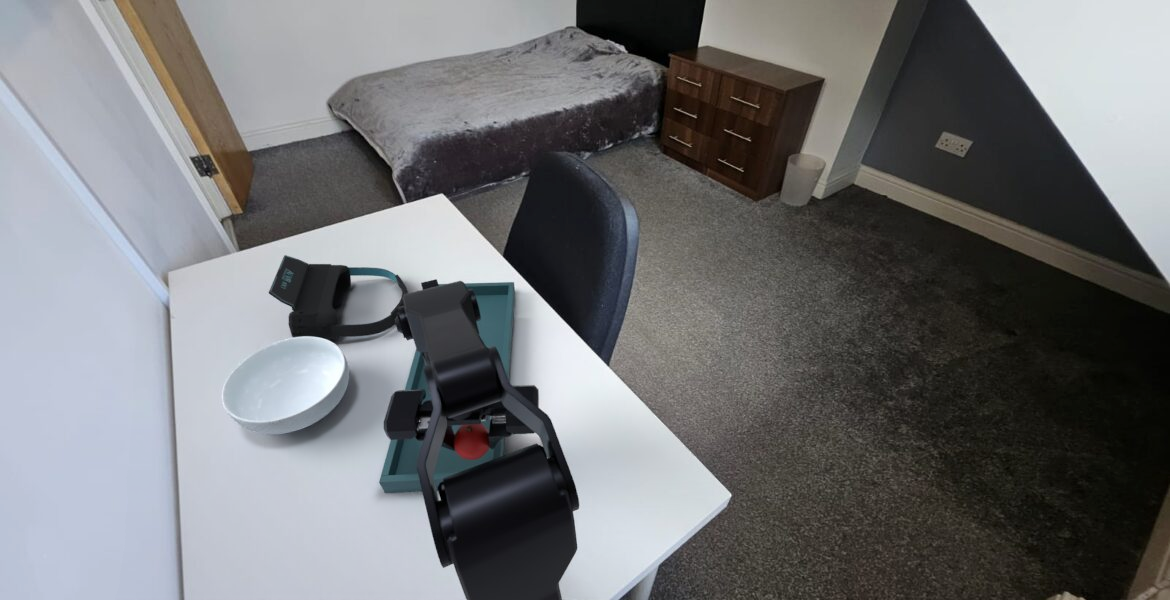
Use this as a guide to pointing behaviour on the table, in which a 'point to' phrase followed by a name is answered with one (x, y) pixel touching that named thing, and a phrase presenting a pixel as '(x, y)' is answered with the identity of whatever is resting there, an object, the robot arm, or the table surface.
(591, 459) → the table surface
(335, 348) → the cereal bowl
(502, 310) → the tray
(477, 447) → the apple
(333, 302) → the virtual reality headset
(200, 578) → the table surface
